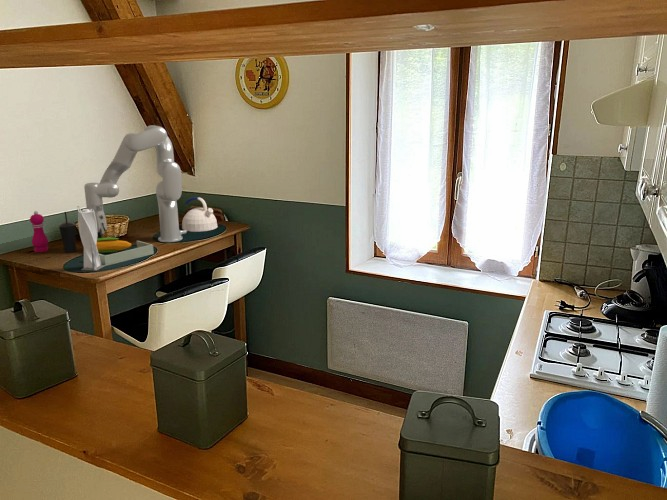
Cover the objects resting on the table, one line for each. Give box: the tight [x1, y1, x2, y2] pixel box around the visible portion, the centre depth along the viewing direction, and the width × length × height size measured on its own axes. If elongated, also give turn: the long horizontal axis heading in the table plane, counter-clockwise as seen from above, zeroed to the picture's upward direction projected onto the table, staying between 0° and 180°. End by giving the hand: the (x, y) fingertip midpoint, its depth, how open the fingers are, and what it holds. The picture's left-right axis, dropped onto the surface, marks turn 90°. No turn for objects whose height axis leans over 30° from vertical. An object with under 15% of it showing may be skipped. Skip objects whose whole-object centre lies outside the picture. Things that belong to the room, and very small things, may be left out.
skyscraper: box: [76, 205, 106, 272], centre depth 246 cm, size 8×8×28 cm
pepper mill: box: [29, 210, 49, 253], centre depth 274 cm, size 7×7×20 cm
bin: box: [99, 240, 155, 267], centre depth 265 cm, size 25×13×5 cm, turn 142°
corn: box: [96, 237, 132, 254], centre depth 274 cm, size 7×8×20 cm
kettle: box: [181, 196, 218, 233], centre depth 323 cm, size 20×21×18 cm
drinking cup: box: [57, 211, 77, 254], centre depth 272 cm, size 8×8×20 cm
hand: (98, 244), depth 278 cm, fingers closed
